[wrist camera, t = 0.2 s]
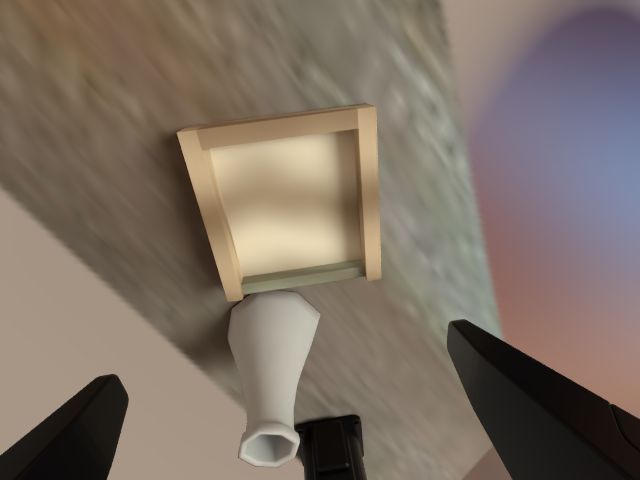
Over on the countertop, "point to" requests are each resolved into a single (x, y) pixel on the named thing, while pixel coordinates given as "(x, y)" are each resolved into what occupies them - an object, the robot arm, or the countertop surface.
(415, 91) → the countertop surface
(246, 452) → the flask
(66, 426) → the robot arm
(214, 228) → the tray
